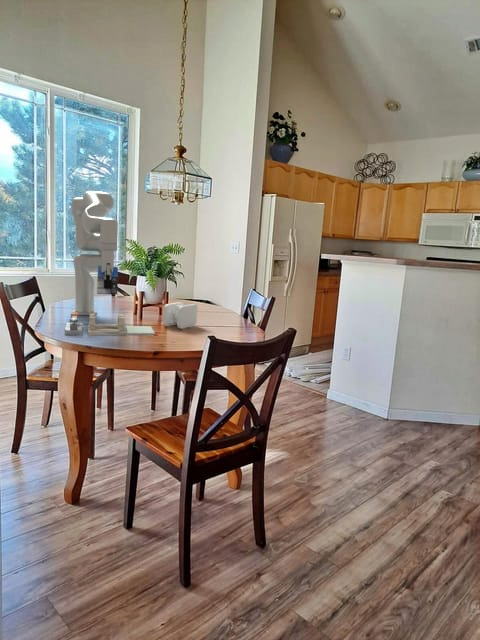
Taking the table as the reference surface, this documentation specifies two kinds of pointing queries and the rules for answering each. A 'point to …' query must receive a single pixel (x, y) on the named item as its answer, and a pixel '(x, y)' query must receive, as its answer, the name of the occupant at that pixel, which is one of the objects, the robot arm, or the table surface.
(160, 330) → the table surface
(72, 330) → the base
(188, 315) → the cable organizer
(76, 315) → the lever
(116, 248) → the robot arm
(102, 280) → the blue box
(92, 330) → the holder
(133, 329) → the tray
